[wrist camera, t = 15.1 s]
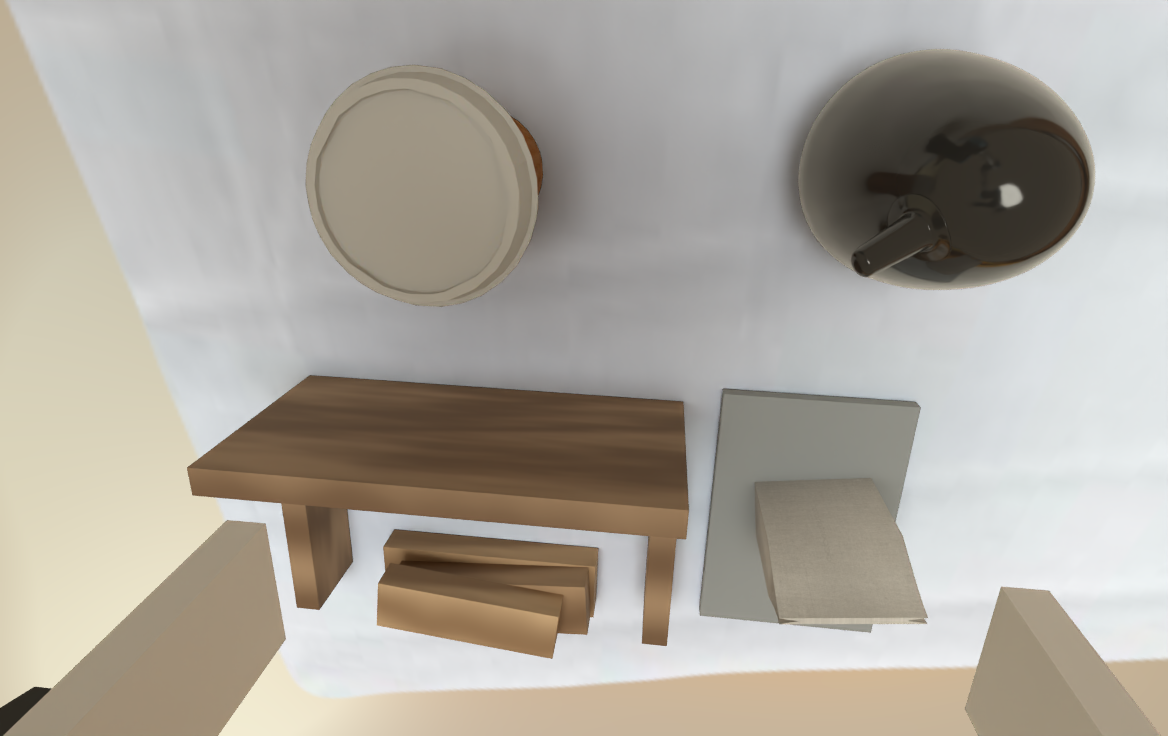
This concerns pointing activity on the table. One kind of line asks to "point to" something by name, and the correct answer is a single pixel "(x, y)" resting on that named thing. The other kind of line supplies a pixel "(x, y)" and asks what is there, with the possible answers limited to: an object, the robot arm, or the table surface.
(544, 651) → the offcut stack
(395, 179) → the disposable coffee cup
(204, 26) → the table surface
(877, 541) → the tea bag
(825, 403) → the mat
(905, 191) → the pump dispenser
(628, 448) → the bench
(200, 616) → the robot arm
